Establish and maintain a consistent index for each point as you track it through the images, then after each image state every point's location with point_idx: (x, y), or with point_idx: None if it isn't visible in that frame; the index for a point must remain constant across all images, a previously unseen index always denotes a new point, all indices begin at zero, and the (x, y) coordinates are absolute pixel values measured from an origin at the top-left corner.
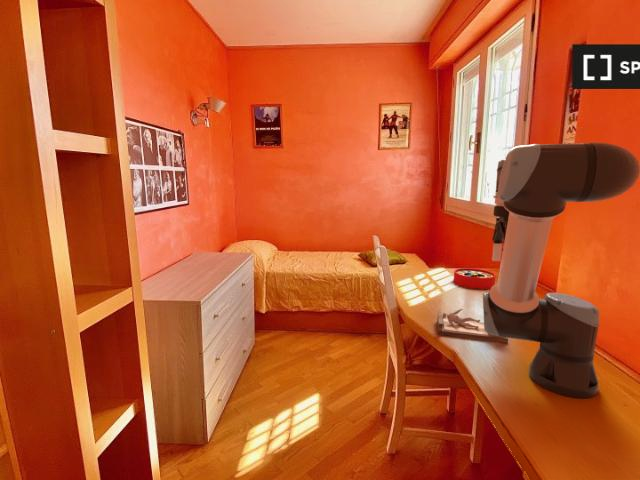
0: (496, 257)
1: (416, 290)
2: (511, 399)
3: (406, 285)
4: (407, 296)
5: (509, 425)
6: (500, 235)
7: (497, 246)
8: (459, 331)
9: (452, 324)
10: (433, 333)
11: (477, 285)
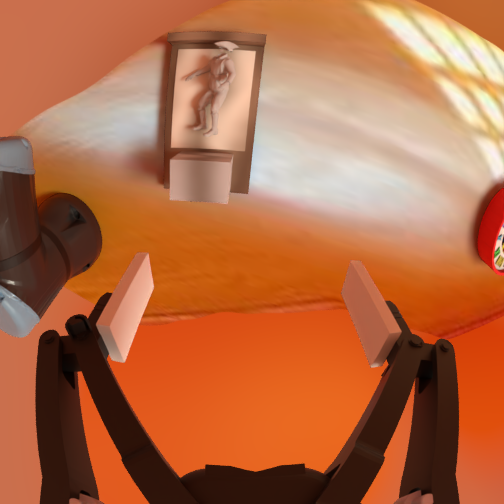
0: (351, 289)
1: (473, 67)
2: None
3: (494, 61)
4: (431, 24)
5: None
6: (364, 417)
7: (373, 337)
8: (174, 83)
9: (203, 67)
10: (179, 30)
11: (486, 224)
